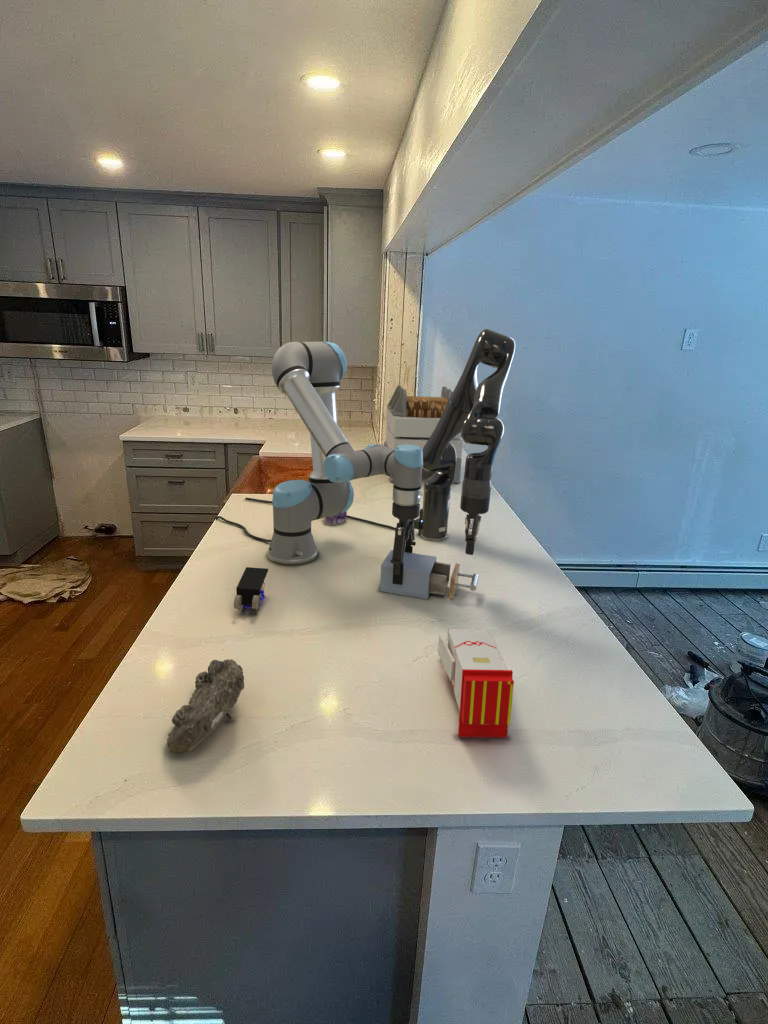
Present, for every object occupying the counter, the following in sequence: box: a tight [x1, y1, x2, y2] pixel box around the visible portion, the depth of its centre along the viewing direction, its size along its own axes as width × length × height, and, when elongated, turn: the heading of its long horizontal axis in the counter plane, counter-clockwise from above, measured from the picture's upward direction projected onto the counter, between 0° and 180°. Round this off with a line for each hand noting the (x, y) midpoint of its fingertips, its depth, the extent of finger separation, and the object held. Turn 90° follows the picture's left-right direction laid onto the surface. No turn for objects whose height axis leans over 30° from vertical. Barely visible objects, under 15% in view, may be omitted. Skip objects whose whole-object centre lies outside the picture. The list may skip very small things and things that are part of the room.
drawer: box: [428, 561, 480, 600], centre depth 159 cm, size 18×10×6 cm, turn 75°
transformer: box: [383, 384, 464, 484], centre depth 268 cm, size 34×33×41 cm
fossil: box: [166, 658, 245, 754], centre depth 106 cm, size 22×10×15 cm
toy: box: [437, 628, 515, 738], centre depth 117 cm, size 12×13×30 cm
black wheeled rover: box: [233, 566, 269, 615], centre depth 148 cm, size 7×8×15 cm
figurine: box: [323, 510, 348, 526], centre depth 206 cm, size 9×10×15 cm
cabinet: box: [379, 549, 438, 600], centre depth 161 cm, size 14×11×8 cm
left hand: (402, 574), depth 162 cm, fingers closed on cabinet, 11 cm apart
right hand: (469, 553), depth 155 cm, fingers closed
